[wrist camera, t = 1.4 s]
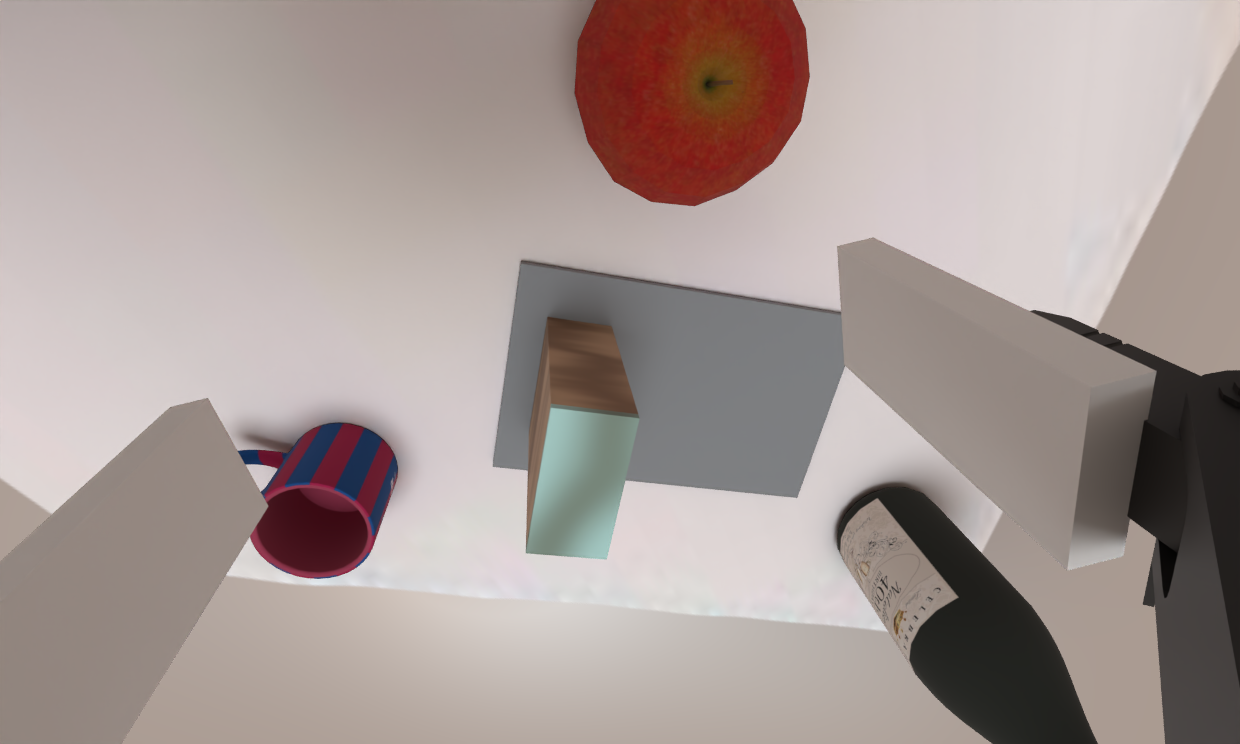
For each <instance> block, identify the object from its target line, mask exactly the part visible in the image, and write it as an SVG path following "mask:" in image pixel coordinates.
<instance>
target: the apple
mask: <svg viewBox="0 0 1240 744" xmlns="http://www.w3.org/2000/svg"><path fill="white" fill-rule="evenodd" d="M809 77H810V74H809V62H808V51H807V39H806V28H805V26H804V24H803V22H802V20H801V17H800V15H799V13H798V11H797V9H796V6H795V4H794V2H793V0H596V2H595V4H594V6H593V8H592V11H591V13H590V15H589V17H588V20H587V22H586V24H585V26H584V29H583V31H582V33H581V35H580V37H579V40H578V48H577V63H576V79H575V97H576V100H577V104H578V108H579V111H580V115H581V119H582V122H583V126H584V130H585V133H586V137H587V141H588V143H589V145H590V146H591V148H592V149H593V151H594V152H595V154H596V155H597V157H598V158H599V160H600V161H601V163H602V164H603V166H604V167H605V169H606V170H607V172H608V173H609V175H610V176H611V178H612V179H613V181H614V182H616V183H618V184H620V185H621V186H623V187H625V188H627V189H629V190H631V191H632V192H634V193H636V194H638V195H640V196H642V197H644V198H645V199H647V200H649V201H651V202H658V203H668V204H678V205H688V206H696V205H699V204H701V203H704V202H707V201H709V200H712V199H714V198H717V197H720V196H722V195H725V194H727V193H730V192H733V191H735V190H737V189H738V188H740V187H741V186H742V185H744V184H745V183H746V182H748V181H749V180H751V179H752V178H753V177H755V176H756V175H757V174H759V173H760V172H761V171H763V170H764V169H765V168H767V167H768V166H769V165H771V164H772V163H773V162H774V160H775V159H776V158H777V156H778V155H779V153H780V152H781V150H782V149H783V147H784V146H785V144H786V143H787V141H788V140H789V138H790V137H791V135H792V134H793V132H794V131H795V129H796V128H797V126H798V125H799V123H800V122H801V118H802V113H803V108H804V102H805V97H806V92H807V87H808V82H809Z"/></svg>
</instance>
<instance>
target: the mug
mask: <svg viewBox="0 0 1240 744" xmlns="http://www.w3.org/2000/svg"><path fill="white" fill-rule="evenodd" d="M238 453H239V454H240V456H241V458H242V460H243V462H244V463H245V464H258V465H266V466H271V467H275V468H278V470H277V471H276V473H275V474H274V476H273V477H272V479H271V480H270V482H269V483H268V485H267V486H266V488H265V489H264V490H262V491H261V494H262V495H263V497H264V499H265V501H266V503H267V504H268V508H267V509H266V511H265V513H264V514H263V516H262V517H261V519H260V521H259V522H258V524H257V526H256V527H255V529H254V530H253V532H252V534H251V535H250V538H251V541H252V543H253V545H254V547H255V549H256V550H257V551H258V552H259V554H260V555H261V556H262V557H263V558H264V559H265V560H266V561H267V562H269V563H270V564H272V565H273V566H275V567H276V568H278V569H280V570H282V571H284V572H286V573H289V574H292V575H295V576H299V577H304V578H315V579H321V578H331V577H336V576H340V575H342V574H345V573H348V572H350V571H351V570H353V569H355V568H357V567H358V566H359V565H360V564H361V563H363V562H364V560H365V559H366V558H367V557H368V556H369V554H370V552H371V550H372V548H373V545H374V542H375V540H376V537H377V534H378V531H379V528H380V525H381V523H382V520H383V517H384V514H385V511H386V508H387V506H388V503H389V500H390V497H391V494H392V491H393V489H394V486H395V483H396V479H397V473H398V467H397V461H396V459H395V456H394V454H393V452H392V450H391V449H390V447H389V446H388V445H387V444H386V442H385V441H384V440H383V439H381V438H380V437H379V436H378V435H376V434H375V433H373V432H371V431H369V430H367V429H365V428H362V427H360V426H356V425H352V424H344V423H333V424H326V425H322V426H319V427H316V428H314V429H312V430H310V431H309V432H307V433H305V434H304V435H303V436H302V437H301V438H300V439H299V440H298V441H297V443H296V444H295V445H294V447H293V448H292V449H291V451H290V452H288V453H283V452H276V451H266V450H242V451H238Z"/></svg>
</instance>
